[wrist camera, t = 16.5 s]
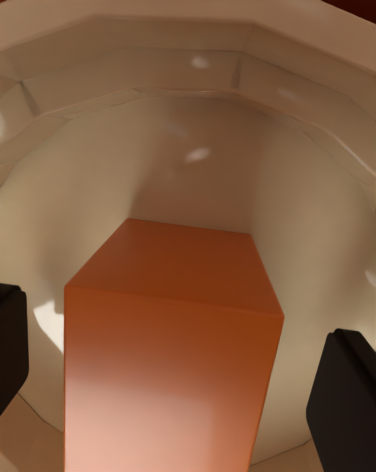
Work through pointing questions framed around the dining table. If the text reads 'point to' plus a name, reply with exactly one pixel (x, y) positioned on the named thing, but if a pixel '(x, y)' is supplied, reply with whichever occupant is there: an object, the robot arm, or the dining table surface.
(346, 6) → the dining table surface
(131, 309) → the orange rectangular block
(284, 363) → the bowl
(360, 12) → the dining table surface
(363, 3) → the dining table surface
